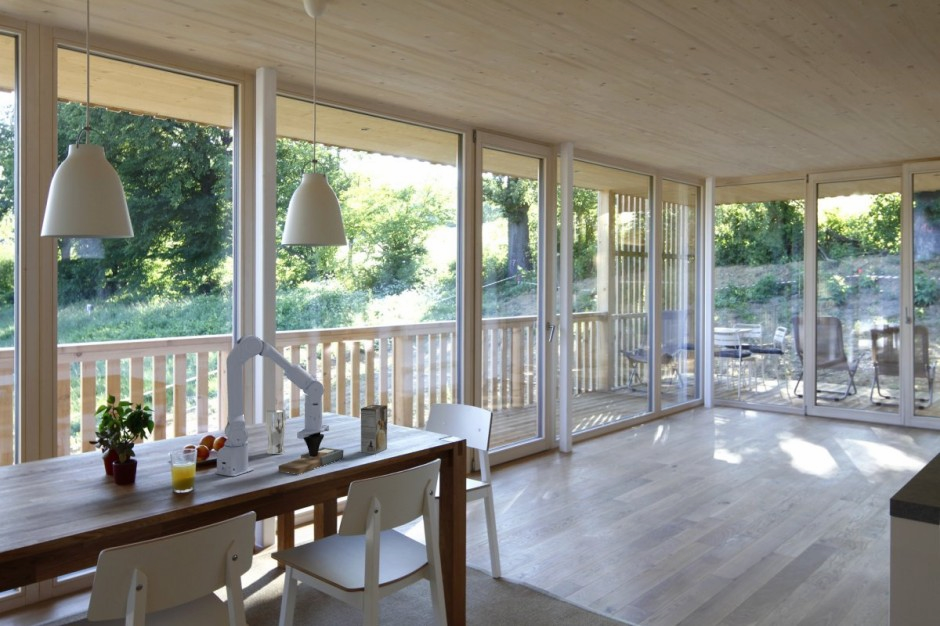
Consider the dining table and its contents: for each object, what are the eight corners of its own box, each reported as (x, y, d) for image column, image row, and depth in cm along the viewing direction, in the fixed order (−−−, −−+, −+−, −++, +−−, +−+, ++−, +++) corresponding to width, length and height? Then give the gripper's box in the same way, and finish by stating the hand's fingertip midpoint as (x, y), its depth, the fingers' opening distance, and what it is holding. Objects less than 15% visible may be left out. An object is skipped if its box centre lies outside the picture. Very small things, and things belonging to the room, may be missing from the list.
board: (298, 474, 233) (298, 468, 233) (278, 471, 236) (278, 465, 236) (321, 466, 243) (321, 460, 243) (302, 463, 247) (302, 457, 247)
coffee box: (371, 447, 272) (371, 404, 271) (387, 448, 270) (387, 405, 269) (360, 452, 263) (360, 408, 263) (376, 454, 261) (376, 409, 260)
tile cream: (327, 460, 249) (327, 452, 249) (317, 458, 251) (317, 451, 251) (334, 457, 253) (334, 450, 253) (324, 456, 255) (324, 449, 255)
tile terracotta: (319, 459, 245) (319, 452, 246) (309, 459, 247) (310, 451, 247) (326, 460, 249) (326, 452, 249) (316, 459, 251) (317, 451, 251)
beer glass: (280, 455, 258) (280, 413, 257) (262, 454, 259) (262, 412, 258) (289, 451, 265) (289, 409, 264) (271, 450, 266) (271, 408, 265)
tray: (322, 466, 243) (322, 457, 243) (300, 463, 247) (300, 454, 247) (343, 458, 254) (343, 450, 254) (322, 455, 258) (322, 447, 258)
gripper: (309, 420, 237) (309, 462, 237) (336, 413, 250) (336, 452, 251) (292, 418, 240) (292, 459, 241) (319, 411, 253) (319, 450, 254)
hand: (313, 456), depth 246 cm, fingers closed
